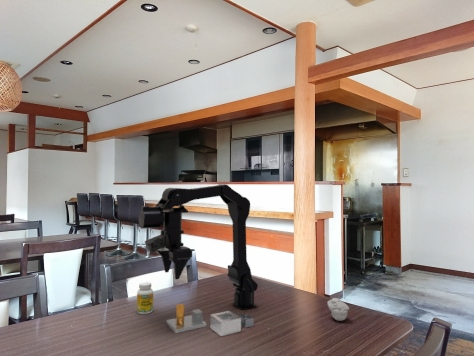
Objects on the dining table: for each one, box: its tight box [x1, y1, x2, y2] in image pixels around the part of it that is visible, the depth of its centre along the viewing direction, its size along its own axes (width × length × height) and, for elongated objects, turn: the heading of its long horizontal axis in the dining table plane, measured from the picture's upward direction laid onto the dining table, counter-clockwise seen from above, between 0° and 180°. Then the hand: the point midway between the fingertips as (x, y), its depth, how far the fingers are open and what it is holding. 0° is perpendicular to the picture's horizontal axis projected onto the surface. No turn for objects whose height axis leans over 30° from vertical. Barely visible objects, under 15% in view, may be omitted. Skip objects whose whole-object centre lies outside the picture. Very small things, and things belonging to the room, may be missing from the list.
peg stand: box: [165, 303, 207, 334], centre depth 106 cm, size 10×8×6 cm
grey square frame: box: [209, 310, 242, 337], centre depth 103 cm, size 7×7×4 cm
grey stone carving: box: [327, 297, 350, 322], centre depth 111 cm, size 6×7×7 cm
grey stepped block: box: [238, 313, 255, 328], centre depth 106 cm, size 6×4×3 cm
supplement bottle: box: [136, 281, 154, 315], centre depth 116 cm, size 5×5×10 cm
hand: (171, 275), depth 108 cm, fingers open, 9 cm apart
